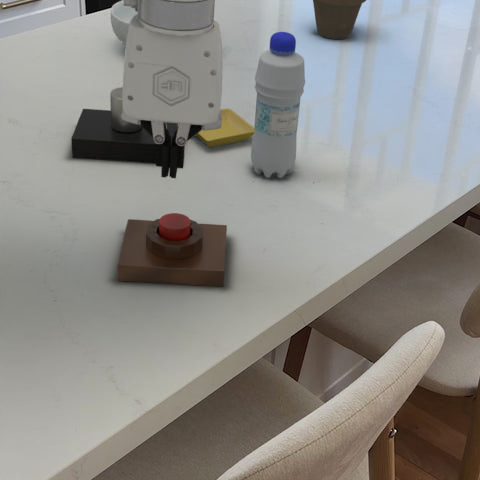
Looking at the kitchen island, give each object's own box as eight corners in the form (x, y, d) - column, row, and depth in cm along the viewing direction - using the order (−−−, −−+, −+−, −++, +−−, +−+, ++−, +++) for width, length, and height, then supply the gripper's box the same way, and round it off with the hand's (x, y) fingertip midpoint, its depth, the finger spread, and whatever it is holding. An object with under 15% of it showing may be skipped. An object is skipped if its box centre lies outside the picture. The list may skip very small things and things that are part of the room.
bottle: (263, 185, 122) (274, 44, 110) (239, 164, 126) (248, 27, 115) (304, 177, 125) (320, 39, 113) (280, 156, 129) (293, 22, 118)
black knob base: (72, 157, 124) (71, 138, 122) (83, 127, 132) (82, 108, 130) (172, 164, 125) (173, 145, 123) (177, 133, 133) (178, 115, 131)
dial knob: (141, 133, 125) (140, 98, 122) (109, 131, 125) (108, 96, 122) (143, 120, 129) (143, 85, 126) (112, 118, 128) (112, 84, 125)
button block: (117, 280, 101) (117, 251, 98) (128, 234, 109) (127, 206, 107) (223, 286, 101) (225, 257, 99) (225, 240, 110) (227, 212, 107)
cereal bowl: (178, 74, 152) (179, 34, 148) (93, 54, 156) (92, 14, 152) (219, 44, 165) (221, 7, 161) (140, 27, 169) (140, -11, 165)
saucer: (257, 143, 132) (258, 130, 131) (206, 153, 128) (207, 140, 127) (228, 120, 138) (229, 107, 137) (179, 129, 134) (179, 116, 133)
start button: (157, 241, 101) (157, 228, 100) (160, 224, 104) (160, 212, 103) (189, 243, 102) (189, 230, 101) (191, 226, 105) (191, 213, 104)
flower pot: (323, 47, 168) (329, -6, 163) (293, 27, 176) (298, -24, 171) (373, 41, 174) (381, -11, 168) (342, 22, 181) (348, -28, 176)
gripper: (95, 13, 85) (96, 182, 95) (250, 28, 86) (235, 194, 96) (106, -10, 91) (106, 151, 101) (251, 4, 92) (237, 162, 102)
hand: (169, 171), depth 99 cm, fingers closed
